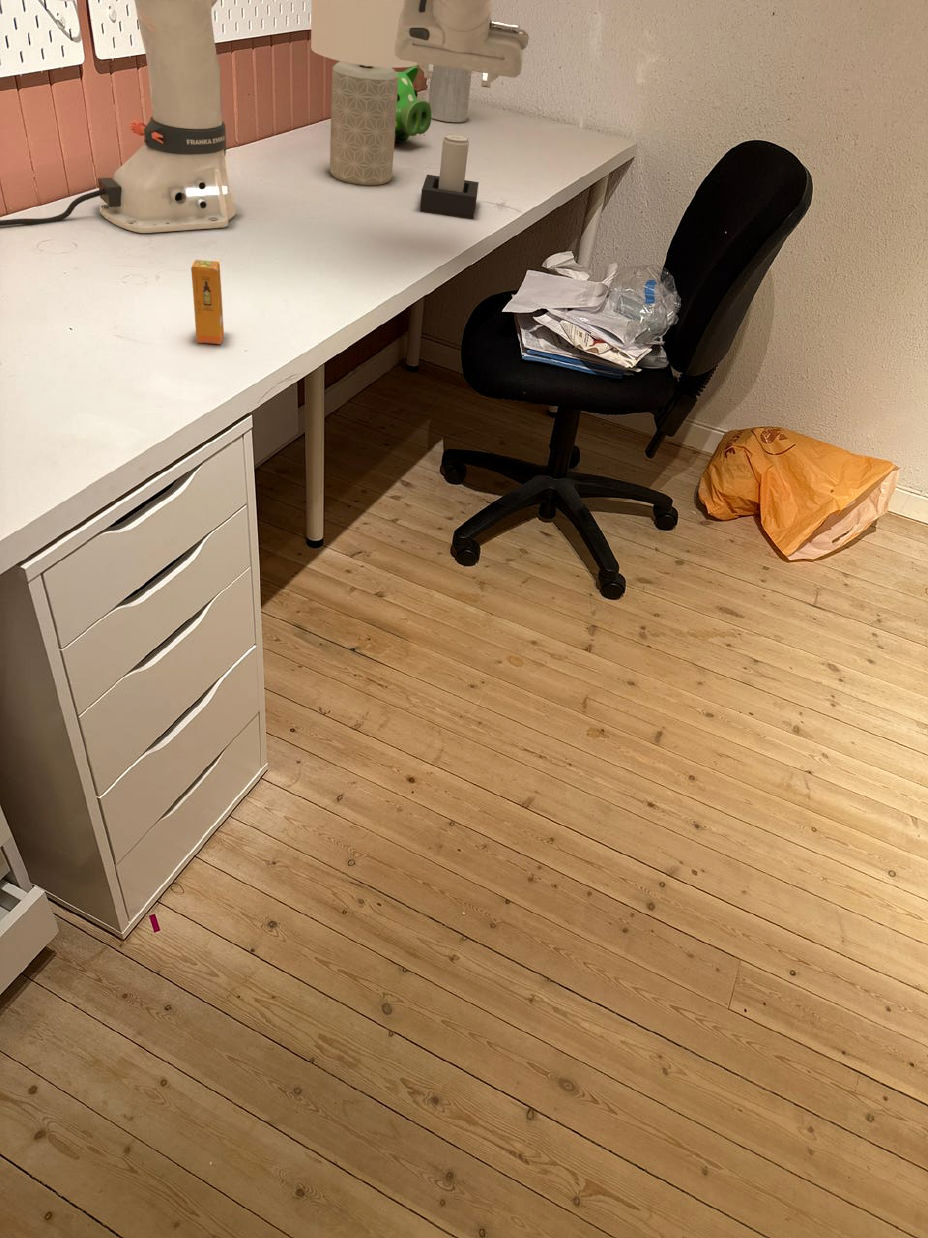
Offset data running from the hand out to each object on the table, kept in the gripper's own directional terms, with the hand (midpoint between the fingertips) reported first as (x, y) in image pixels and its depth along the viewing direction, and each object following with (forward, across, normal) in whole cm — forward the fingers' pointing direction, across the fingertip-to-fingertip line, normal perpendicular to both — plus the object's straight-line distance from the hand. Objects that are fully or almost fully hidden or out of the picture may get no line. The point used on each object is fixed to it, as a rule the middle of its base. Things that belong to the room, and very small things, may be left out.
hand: (457, 78), depth 151 cm
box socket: (+28, 0, +6) cm, 29 cm away
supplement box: (-22, +26, +58) cm, 67 cm away
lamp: (+37, +19, -2) cm, 41 cm away
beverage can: (+28, 0, +6) cm, 29 cm away
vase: (+80, +6, -45) cm, 92 cm away
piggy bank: (+58, +18, -23) cm, 65 cm away
